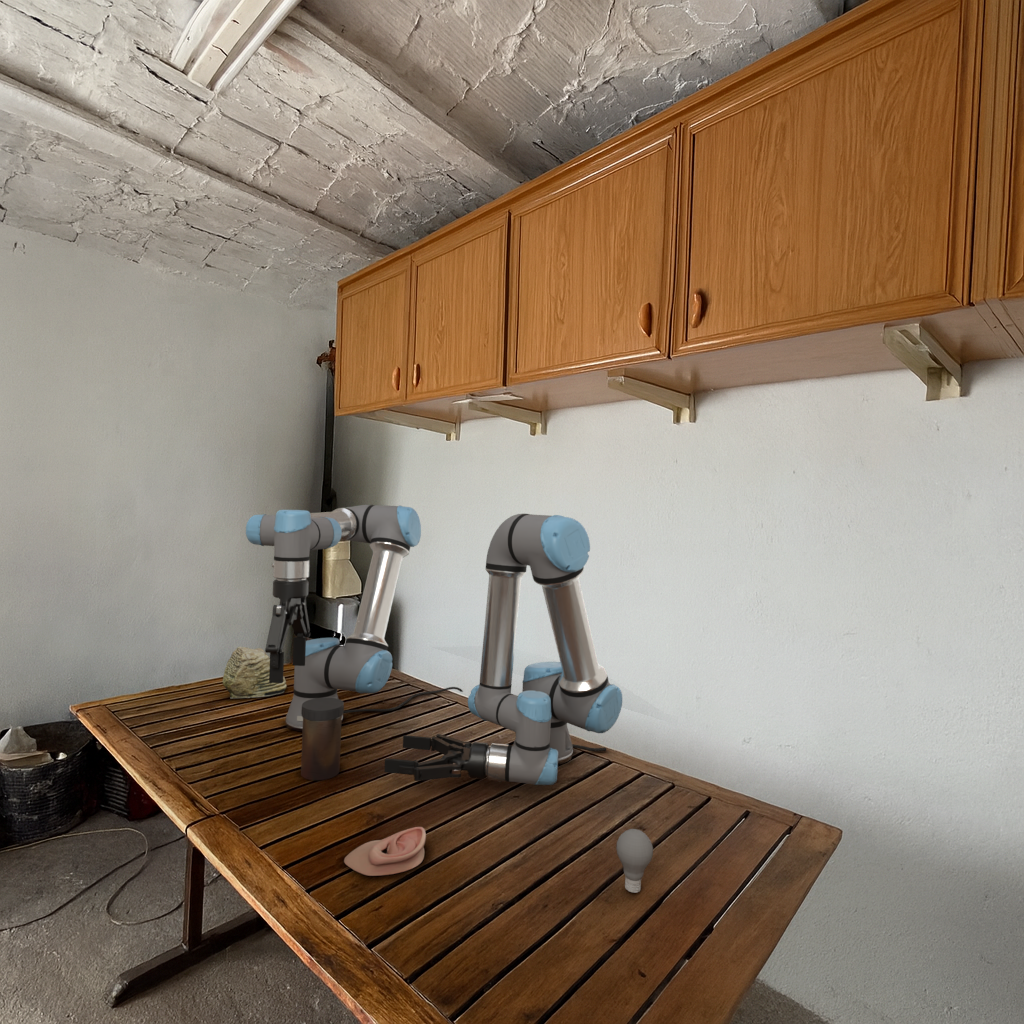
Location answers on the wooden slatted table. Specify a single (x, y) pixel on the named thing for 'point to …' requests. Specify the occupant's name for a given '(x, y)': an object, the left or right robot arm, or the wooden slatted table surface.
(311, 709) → the lid
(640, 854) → the light bulb
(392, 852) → the anatomical model
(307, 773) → the jar
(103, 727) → the wooden slatted table surface
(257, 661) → the fossil
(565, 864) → the wooden slatted table surface
